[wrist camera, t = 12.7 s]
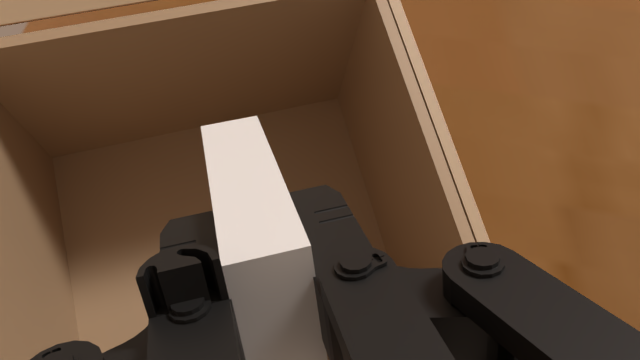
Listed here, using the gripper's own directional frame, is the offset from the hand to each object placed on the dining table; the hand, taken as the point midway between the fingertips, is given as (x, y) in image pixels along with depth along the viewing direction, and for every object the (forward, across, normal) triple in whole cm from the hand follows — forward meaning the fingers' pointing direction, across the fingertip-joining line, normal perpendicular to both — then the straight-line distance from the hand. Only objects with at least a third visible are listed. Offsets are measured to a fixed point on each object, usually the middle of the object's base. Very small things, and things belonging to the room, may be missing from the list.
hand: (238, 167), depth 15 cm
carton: (+20, +1, +15) cm, 25 cm away
